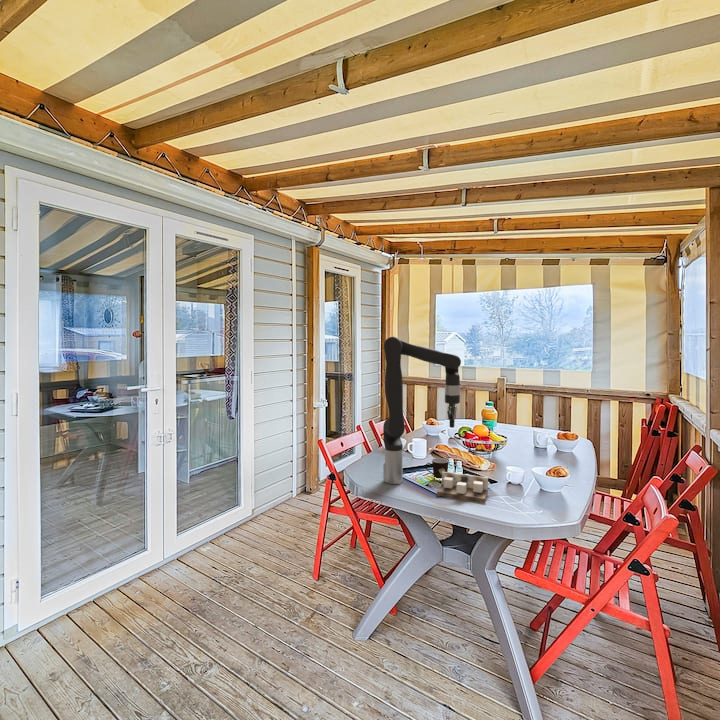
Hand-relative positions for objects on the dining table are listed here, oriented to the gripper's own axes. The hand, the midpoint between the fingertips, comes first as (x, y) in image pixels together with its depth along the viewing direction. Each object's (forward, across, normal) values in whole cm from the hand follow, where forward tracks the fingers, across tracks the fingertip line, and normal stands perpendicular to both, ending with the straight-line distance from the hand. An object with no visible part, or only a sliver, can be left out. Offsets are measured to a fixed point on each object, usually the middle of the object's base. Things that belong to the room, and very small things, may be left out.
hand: (451, 427), depth 212 cm
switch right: (+27, +12, +15) cm, 33 cm away
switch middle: (+27, +17, +8) cm, 33 cm away
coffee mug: (+29, -3, -8) cm, 30 cm away
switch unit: (+29, +14, +8) cm, 33 cm away
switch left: (+27, +12, +1) cm, 29 cm away
